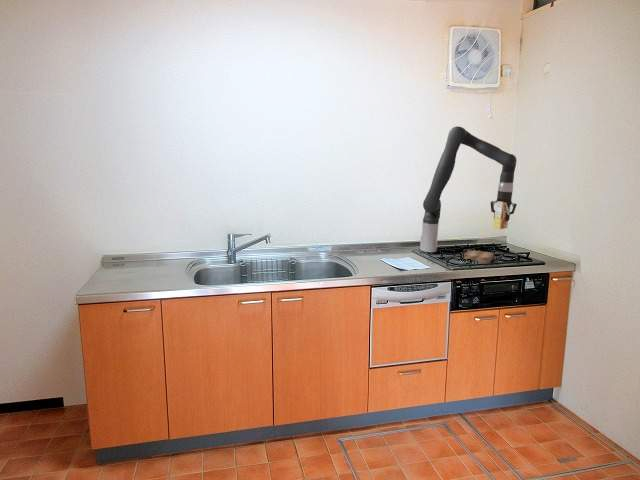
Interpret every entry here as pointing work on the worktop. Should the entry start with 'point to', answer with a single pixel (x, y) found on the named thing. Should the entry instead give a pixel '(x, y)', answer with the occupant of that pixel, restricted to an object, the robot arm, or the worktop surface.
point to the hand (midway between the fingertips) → (501, 220)
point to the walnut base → (479, 256)
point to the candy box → (500, 216)
